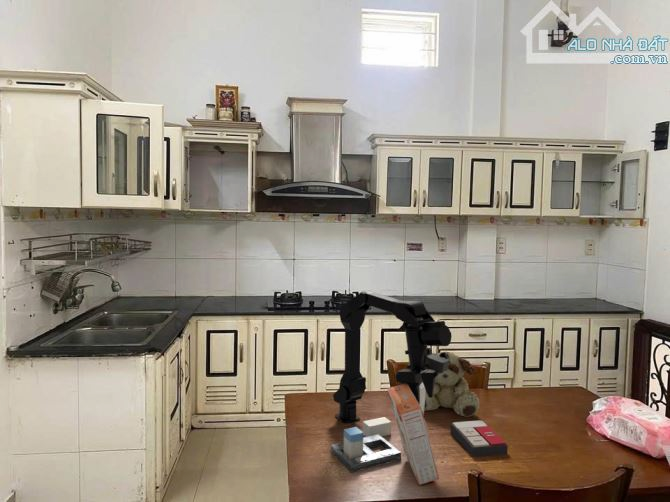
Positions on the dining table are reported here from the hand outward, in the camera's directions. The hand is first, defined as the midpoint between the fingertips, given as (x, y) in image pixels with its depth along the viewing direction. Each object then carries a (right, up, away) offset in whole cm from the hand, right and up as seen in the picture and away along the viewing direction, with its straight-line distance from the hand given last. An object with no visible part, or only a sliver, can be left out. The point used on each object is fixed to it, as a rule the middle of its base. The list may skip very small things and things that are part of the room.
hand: (424, 401), depth 129 cm
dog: (+15, -14, +36) cm, 42 cm away
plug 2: (-12, -15, +13) cm, 23 cm away
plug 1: (-20, -16, -2) cm, 26 cm away
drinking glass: (0, -15, +16) cm, 22 cm away
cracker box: (-2, -15, -8) cm, 17 cm away
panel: (-17, -16, 0) cm, 23 cm away
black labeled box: (+18, -16, +9) cm, 25 cm away
